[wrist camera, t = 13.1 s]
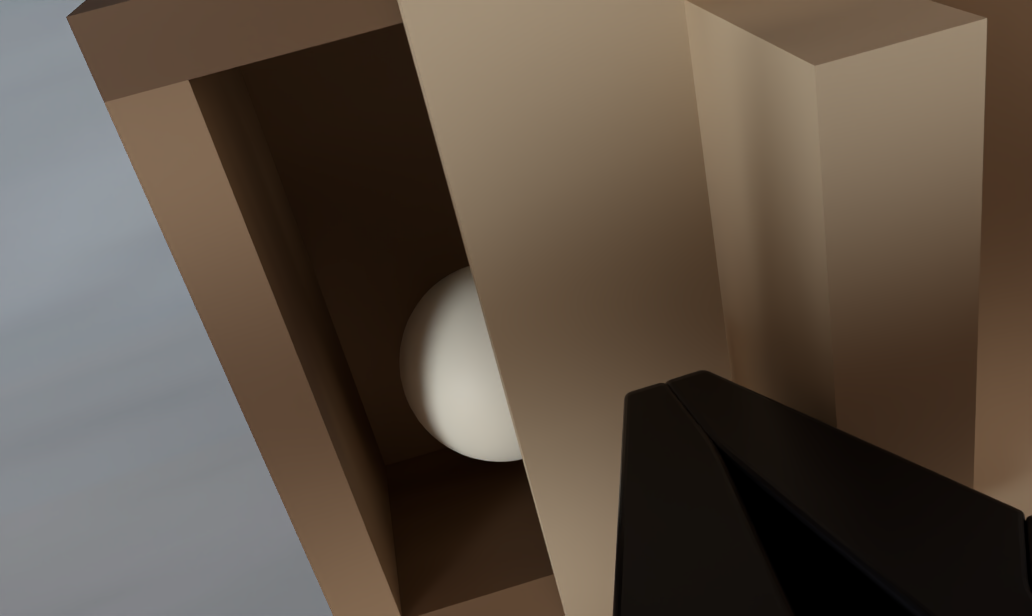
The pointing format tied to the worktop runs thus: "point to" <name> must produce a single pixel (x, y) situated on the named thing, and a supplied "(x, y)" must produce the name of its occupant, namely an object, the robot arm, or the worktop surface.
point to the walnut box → (320, 281)
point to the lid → (741, 226)
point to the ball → (456, 373)
